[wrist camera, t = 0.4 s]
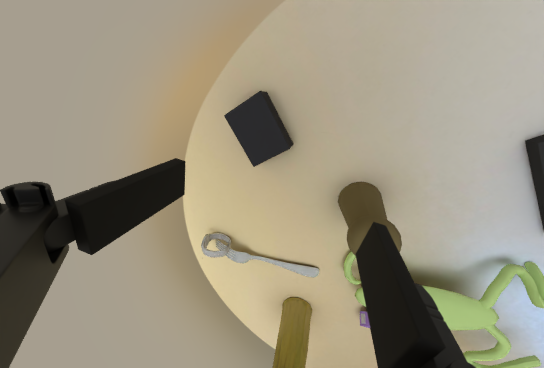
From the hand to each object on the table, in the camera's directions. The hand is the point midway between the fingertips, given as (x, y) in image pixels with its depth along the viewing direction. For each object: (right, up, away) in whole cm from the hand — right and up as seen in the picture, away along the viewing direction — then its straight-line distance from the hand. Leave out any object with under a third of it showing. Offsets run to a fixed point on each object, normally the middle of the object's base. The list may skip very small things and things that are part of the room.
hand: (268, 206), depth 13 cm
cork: (+13, -1, +16) cm, 21 cm away
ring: (-10, -9, +26) cm, 29 cm away
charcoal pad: (-1, +10, +15) cm, 18 cm away
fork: (-1, -13, +25) cm, 28 cm away
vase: (+6, -25, +28) cm, 38 cm away
